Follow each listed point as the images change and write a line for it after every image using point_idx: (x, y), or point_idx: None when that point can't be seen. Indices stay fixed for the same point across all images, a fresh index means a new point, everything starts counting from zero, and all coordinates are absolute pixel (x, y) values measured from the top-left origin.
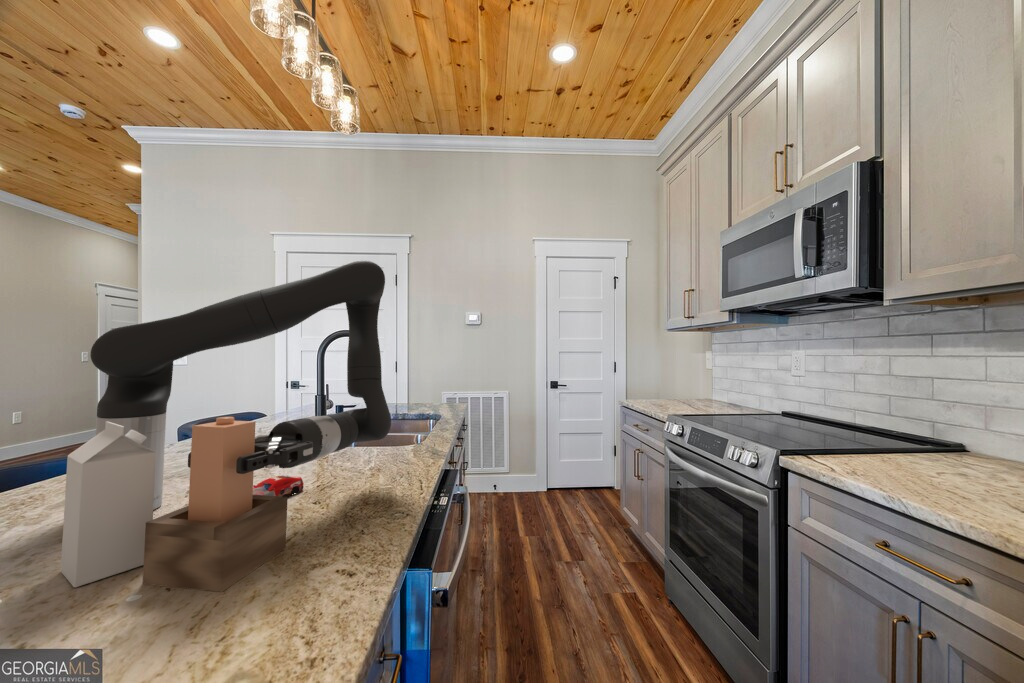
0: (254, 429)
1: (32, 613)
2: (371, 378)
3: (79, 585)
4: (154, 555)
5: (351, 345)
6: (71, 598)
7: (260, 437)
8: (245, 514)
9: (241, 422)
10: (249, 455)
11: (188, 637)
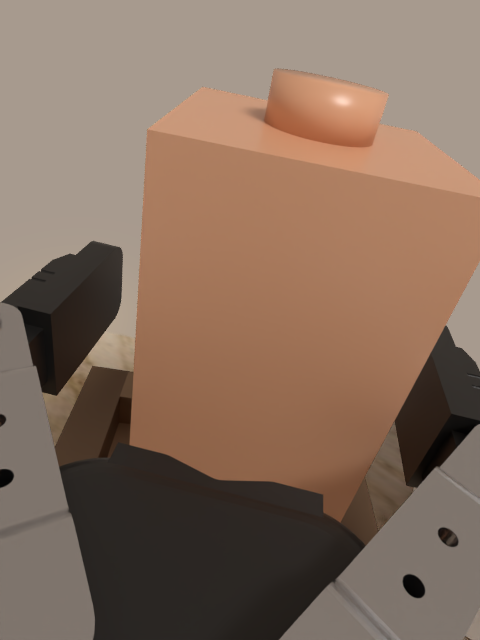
0: (144, 204)
1: None
2: None
3: (413, 487)
4: None
5: None
6: (377, 460)
7: (310, 614)
8: (83, 448)
9: (244, 131)
10: (78, 257)
11: (78, 374)
